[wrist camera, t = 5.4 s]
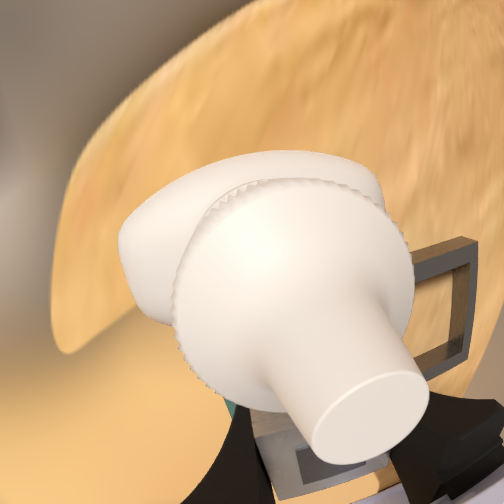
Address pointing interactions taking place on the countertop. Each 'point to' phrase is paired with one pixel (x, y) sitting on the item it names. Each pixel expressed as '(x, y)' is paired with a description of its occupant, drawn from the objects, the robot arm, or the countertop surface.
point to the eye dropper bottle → (286, 294)
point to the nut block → (300, 458)
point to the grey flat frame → (463, 302)
